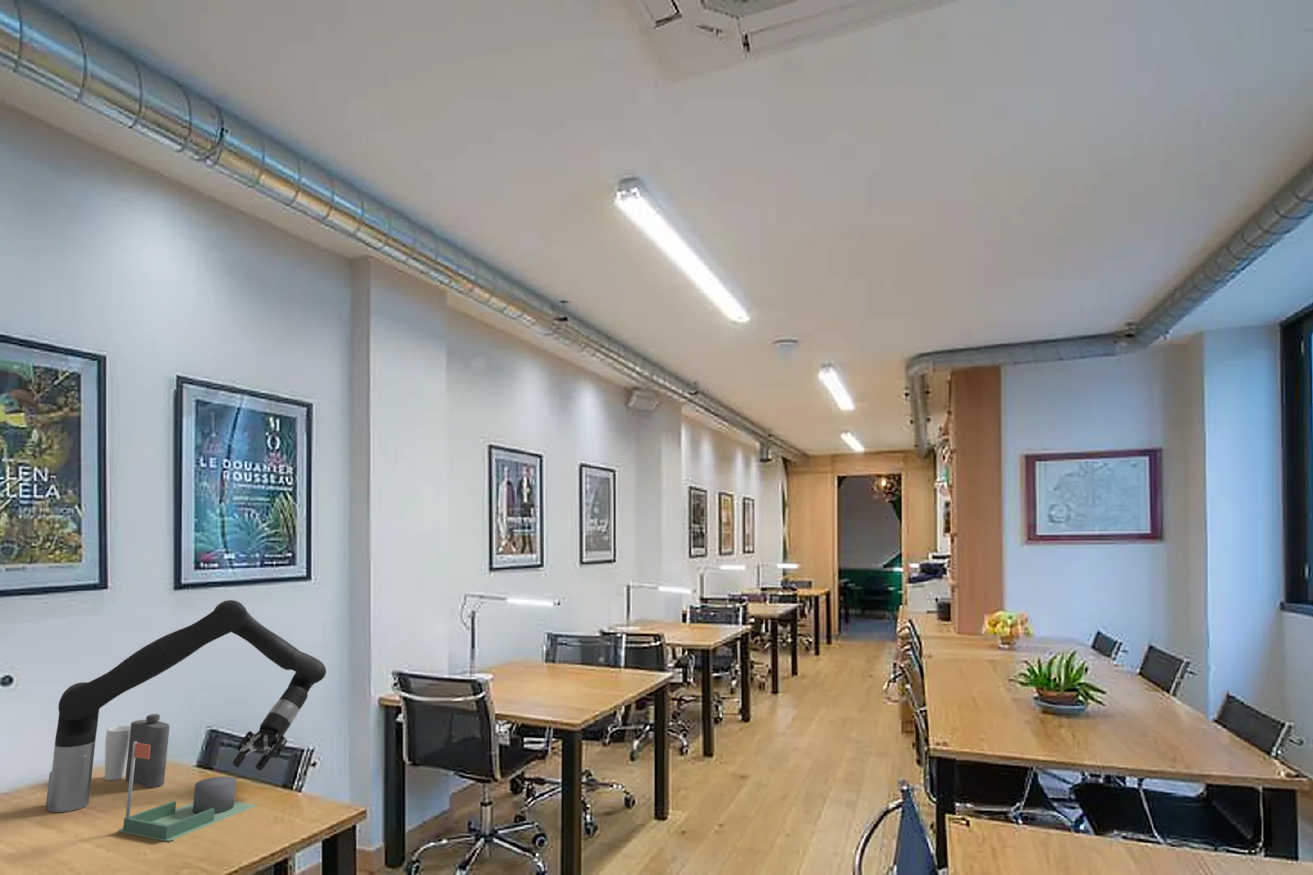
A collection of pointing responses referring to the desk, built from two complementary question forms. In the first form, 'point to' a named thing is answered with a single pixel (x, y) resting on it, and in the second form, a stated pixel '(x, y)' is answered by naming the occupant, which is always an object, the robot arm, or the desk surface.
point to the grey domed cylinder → (214, 794)
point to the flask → (157, 737)
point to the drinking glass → (116, 752)
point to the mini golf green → (169, 812)
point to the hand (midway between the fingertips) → (246, 767)
